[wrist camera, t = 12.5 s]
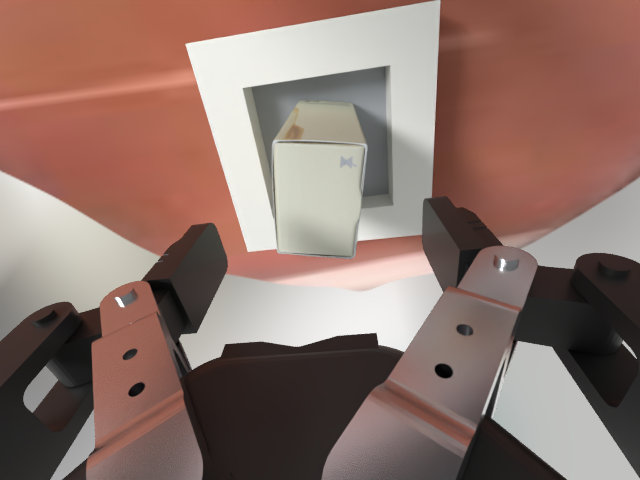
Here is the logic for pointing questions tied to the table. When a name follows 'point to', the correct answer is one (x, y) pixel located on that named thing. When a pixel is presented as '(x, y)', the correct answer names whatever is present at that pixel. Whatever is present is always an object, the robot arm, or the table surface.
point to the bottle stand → (328, 85)
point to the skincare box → (319, 180)
